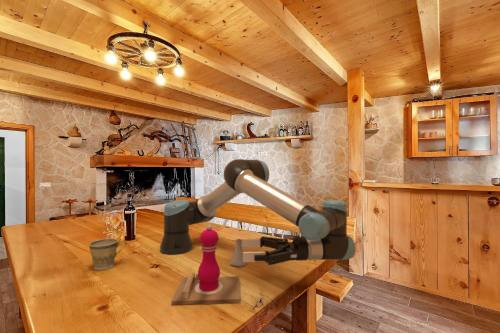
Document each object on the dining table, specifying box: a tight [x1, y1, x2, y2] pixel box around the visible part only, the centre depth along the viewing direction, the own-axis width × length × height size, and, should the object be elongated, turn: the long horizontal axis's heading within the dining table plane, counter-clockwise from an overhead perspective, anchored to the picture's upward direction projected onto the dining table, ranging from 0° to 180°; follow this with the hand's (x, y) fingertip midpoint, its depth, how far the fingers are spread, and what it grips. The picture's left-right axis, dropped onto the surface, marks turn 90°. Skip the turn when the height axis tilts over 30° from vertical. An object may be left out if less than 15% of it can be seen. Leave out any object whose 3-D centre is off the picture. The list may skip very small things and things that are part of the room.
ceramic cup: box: [88, 237, 127, 271], centre depth 98 cm, size 13×10×10 cm
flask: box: [230, 238, 248, 268], centre depth 101 cm, size 7×7×10 cm
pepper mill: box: [197, 224, 221, 291], centre depth 79 cm, size 7×7×20 cm
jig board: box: [170, 271, 241, 306], centre depth 78 cm, size 20×15×3 cm
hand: (242, 249), depth 79 cm, fingers open, 13 cm apart
